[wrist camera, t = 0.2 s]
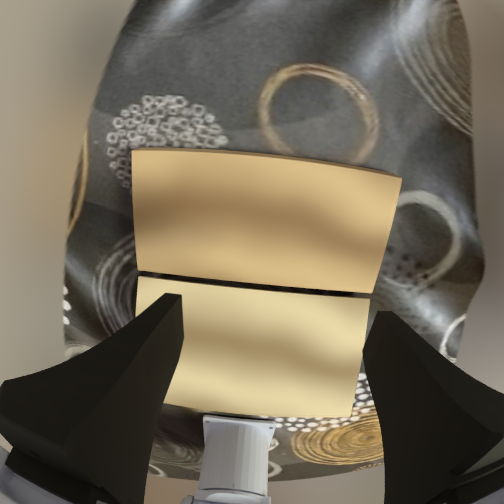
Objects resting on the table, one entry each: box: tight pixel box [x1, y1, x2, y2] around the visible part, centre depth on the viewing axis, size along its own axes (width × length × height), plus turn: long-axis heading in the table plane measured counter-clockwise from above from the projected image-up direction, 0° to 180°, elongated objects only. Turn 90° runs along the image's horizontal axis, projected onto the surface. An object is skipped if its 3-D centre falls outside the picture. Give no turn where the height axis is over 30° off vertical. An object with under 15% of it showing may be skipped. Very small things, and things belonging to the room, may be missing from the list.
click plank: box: [136, 276, 370, 417], centre depth 20 cm, size 9×16×2 cm, turn 83°
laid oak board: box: [132, 147, 402, 293], centre depth 18 cm, size 8×16×2 cm, turn 85°
